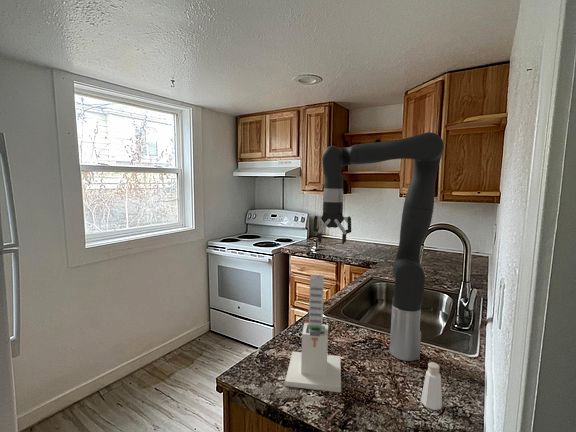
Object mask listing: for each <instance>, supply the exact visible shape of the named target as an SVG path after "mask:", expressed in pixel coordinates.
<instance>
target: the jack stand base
mask: <svg viewBox="0 0 576 432" xmlns="http://www.w3.org/2000/svg"><path fill="white" fill-rule="evenodd" d="M301 333H302V334H301V351H292V352H291V356H290V361H289V365H288V369H287V373H286V377H285V379H284V386H285V387H291V388H298V389H306V390H307V389H308V390H316V391H326V392H334V393H342V376H341V375H342V373H341V371H342V369H341V356H340V355H332V354H328V352H329V351H328V349H329V348H328V347H329V343H328V341H329V324H324V323H323V324H322V334H320V330H311V329H310V333H309V323H305V322H304V324H303V327H302V332H301Z"/></svg>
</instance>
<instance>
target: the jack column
mask: <svg viewBox="0 0 576 432" xmlns="http://www.w3.org/2000/svg"><path fill="white" fill-rule="evenodd" d="M324 281H325V275H321V274H319V275H318V274H310V277H309V299H308V302H309V303H308V310H309V333H310V329H311V330H320V334H322V324H324V322H323V317H324V316H323V315H324V287H325V286H324V284H325V282H324Z"/></svg>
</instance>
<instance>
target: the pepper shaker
mask: <svg viewBox="0 0 576 432" xmlns="http://www.w3.org/2000/svg"><path fill="white" fill-rule="evenodd" d="M427 366H428V368H427V370H426V372H425V376H424V381H423V386H422V387H423V388H422V391H421V392H422V394H421V398H420V403H421V404H422V405H423V406H424V407H425V408H427V409H430V410H432V411H437V410H442V406H443V397H442V396H443V395H442V375H441V374H440V367H441V366H440V364H438V363H436V362H434V361H433V362H432V361H431V362H430V361H429V362H428V363H427Z"/></svg>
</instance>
